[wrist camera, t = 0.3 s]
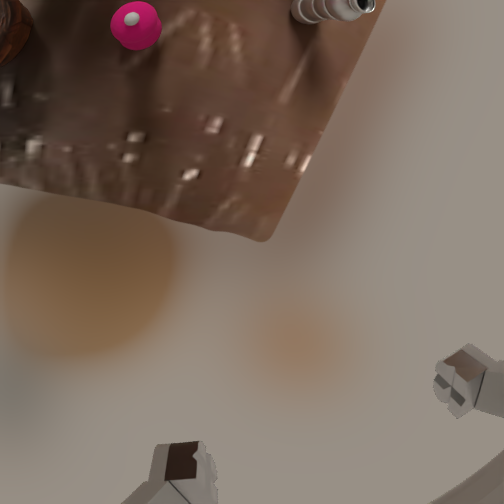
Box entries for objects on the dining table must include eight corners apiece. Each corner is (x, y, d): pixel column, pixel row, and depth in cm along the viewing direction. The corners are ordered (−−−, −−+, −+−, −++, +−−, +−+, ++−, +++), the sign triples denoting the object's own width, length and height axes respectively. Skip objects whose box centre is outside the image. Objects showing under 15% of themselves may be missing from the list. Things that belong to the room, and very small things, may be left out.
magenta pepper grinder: (169, 24, 37) (176, 6, 22) (146, 57, 40) (139, 56, 25) (136, 8, 33) (125, -18, 18) (113, 41, 36) (87, 33, 21)
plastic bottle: (281, 16, 41) (340, 7, 26) (293, -9, 37) (355, -26, 23) (310, 30, 44) (374, 30, 29) (321, 5, 40) (388, -2, 25)
